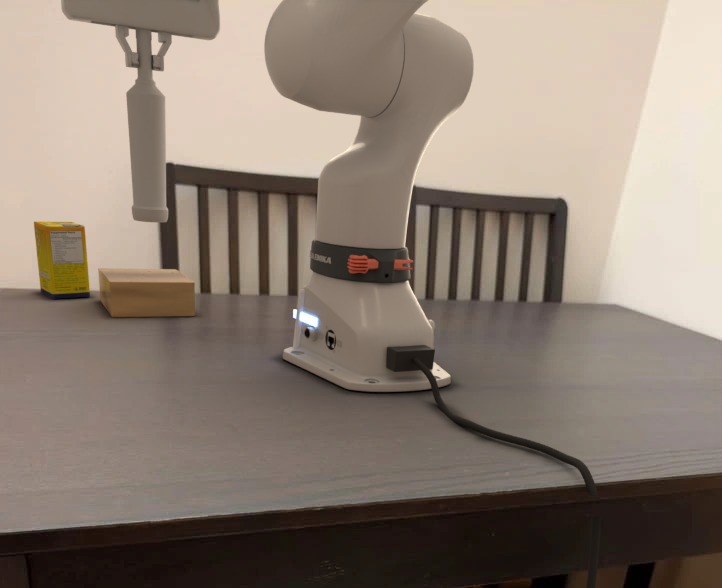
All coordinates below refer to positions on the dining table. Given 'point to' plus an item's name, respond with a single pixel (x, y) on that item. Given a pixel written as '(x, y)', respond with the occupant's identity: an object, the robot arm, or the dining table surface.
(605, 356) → the dining table surface
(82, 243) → the supplement box
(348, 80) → the robot arm
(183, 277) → the block
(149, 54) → the bottle
